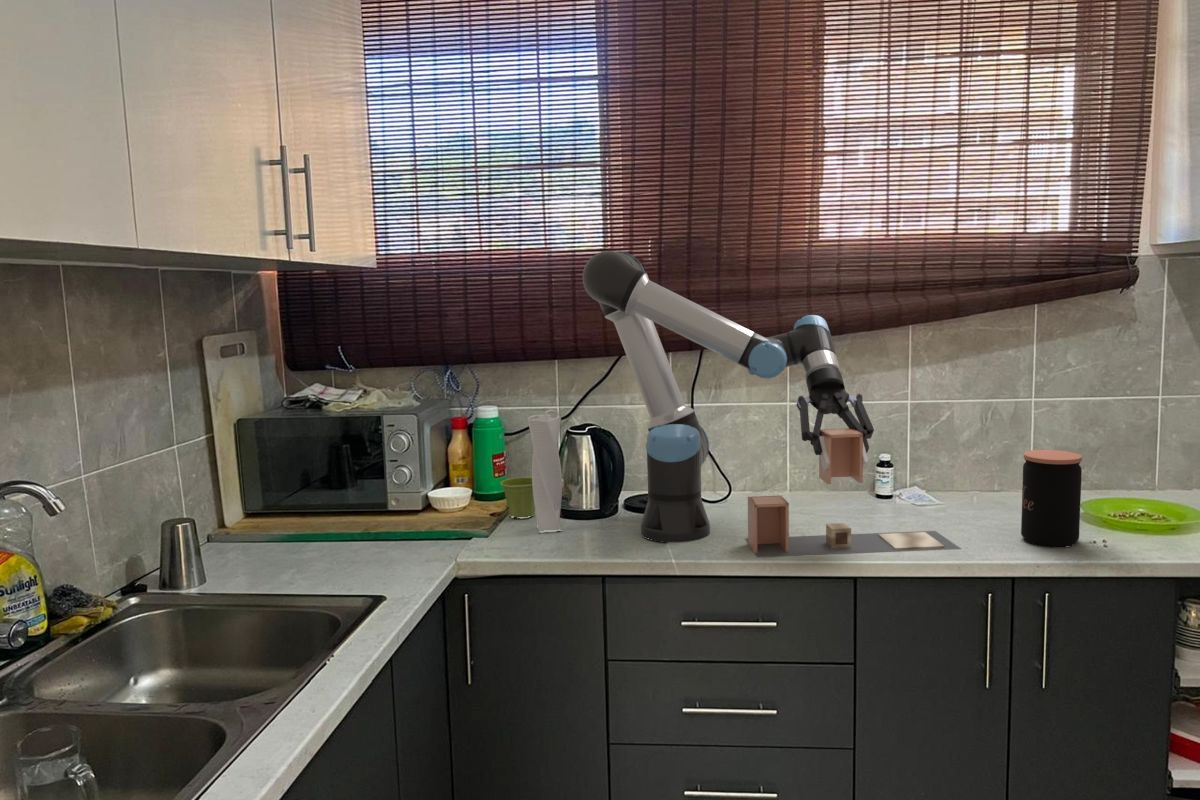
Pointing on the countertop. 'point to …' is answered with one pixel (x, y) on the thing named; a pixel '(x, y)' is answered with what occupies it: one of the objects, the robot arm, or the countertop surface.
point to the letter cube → (838, 535)
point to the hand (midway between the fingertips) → (845, 466)
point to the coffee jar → (1051, 498)
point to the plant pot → (519, 496)
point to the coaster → (910, 541)
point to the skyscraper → (546, 470)
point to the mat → (858, 545)
